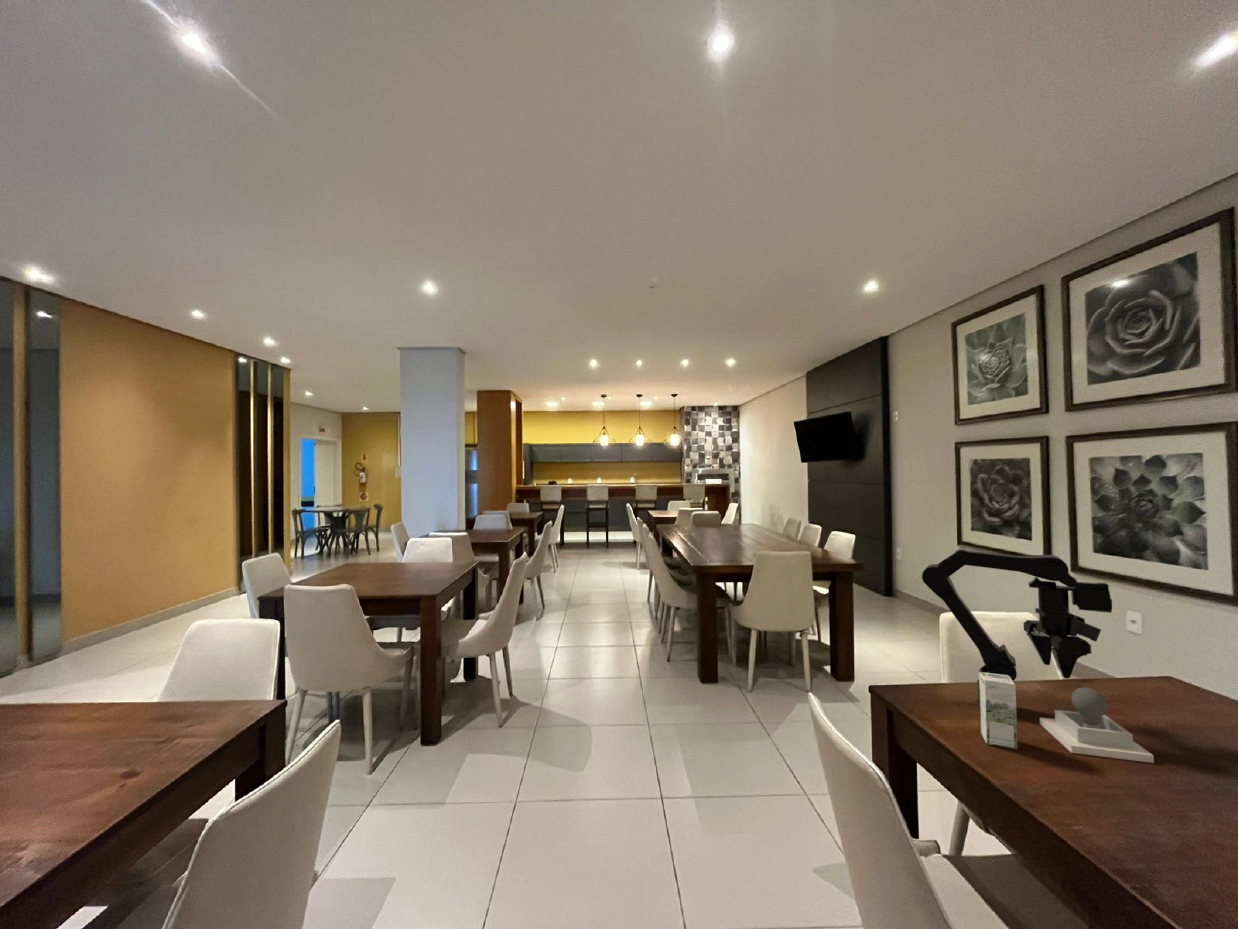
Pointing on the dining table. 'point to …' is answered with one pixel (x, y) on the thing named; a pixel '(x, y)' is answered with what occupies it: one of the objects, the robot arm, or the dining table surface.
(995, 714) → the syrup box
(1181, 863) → the dining table surface
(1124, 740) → the socket base
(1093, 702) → the light bulb
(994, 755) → the dining table surface
